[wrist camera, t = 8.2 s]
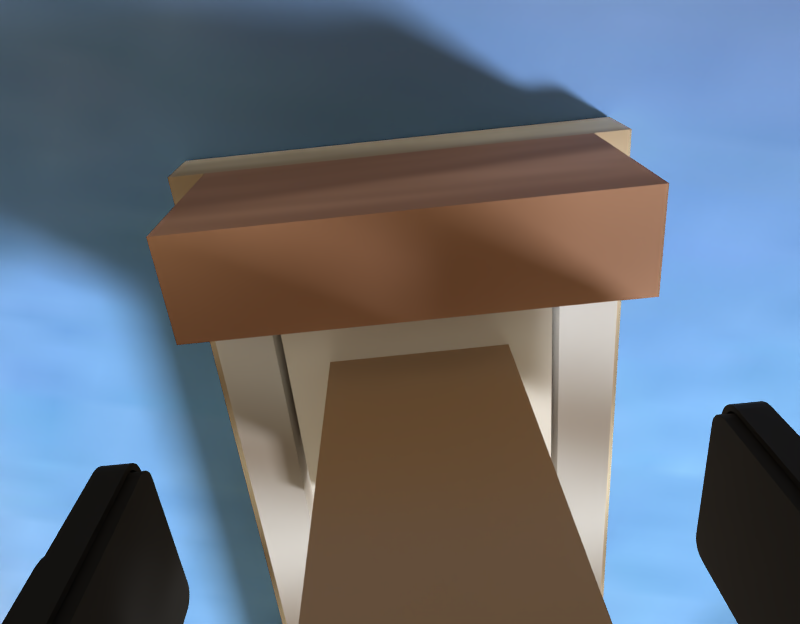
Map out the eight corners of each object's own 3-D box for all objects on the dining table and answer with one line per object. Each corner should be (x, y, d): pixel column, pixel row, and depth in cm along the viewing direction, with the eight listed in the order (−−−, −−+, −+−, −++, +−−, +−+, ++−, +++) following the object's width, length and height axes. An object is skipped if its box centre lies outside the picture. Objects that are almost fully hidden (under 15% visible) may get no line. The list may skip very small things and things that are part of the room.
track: (185, 161, 15) (97, 241, 11) (608, 116, 15) (719, 177, 10) (330, 758, 26) (319, 937, 21) (581, 735, 26) (628, 910, 21)
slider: (297, 271, 15) (185, 679, 6) (520, 248, 15) (730, 627, 6) (328, 444, 17) (278, 926, 8) (523, 425, 17) (680, 892, 8)
